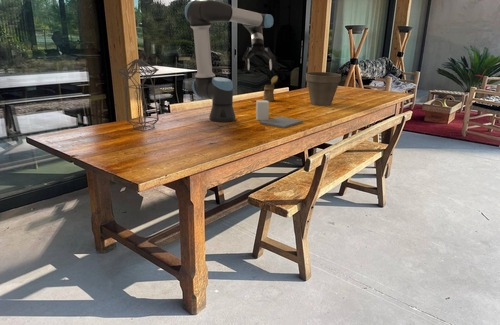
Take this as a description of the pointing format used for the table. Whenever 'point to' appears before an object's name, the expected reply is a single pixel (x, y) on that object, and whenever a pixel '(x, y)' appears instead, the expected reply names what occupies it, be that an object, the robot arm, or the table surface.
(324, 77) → the plant pot
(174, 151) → the table surface
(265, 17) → the robot arm
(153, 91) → the geometric lantern
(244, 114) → the table surface
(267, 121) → the slate board
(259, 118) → the grey cover
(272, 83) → the utensil holder
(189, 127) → the table surface
